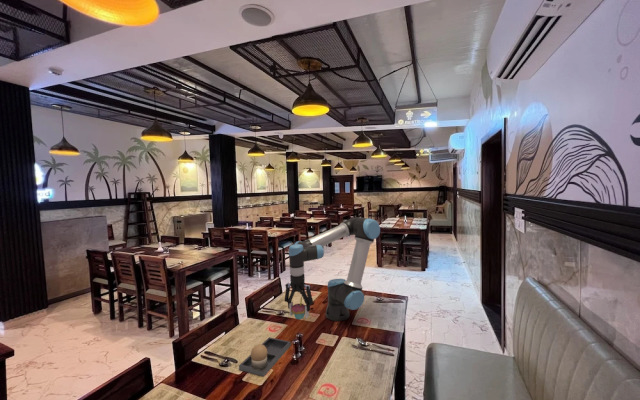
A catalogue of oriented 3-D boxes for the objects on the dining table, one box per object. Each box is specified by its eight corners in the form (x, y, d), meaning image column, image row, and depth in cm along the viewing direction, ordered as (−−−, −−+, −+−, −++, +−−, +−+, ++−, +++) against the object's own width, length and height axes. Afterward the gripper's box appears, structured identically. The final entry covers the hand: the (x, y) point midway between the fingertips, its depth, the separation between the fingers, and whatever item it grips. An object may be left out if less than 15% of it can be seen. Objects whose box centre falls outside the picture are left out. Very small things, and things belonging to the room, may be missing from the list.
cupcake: (309, 314, 151) (308, 293, 150) (303, 322, 143) (302, 299, 142) (295, 312, 154) (294, 291, 153) (288, 320, 146) (287, 297, 145)
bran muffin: (271, 361, 130) (270, 342, 130) (261, 371, 123) (261, 351, 123) (257, 357, 133) (256, 339, 133) (247, 367, 126) (247, 348, 126)
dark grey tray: (290, 347, 143) (290, 341, 143) (263, 378, 120) (263, 372, 120) (269, 342, 148) (269, 337, 148) (239, 372, 125) (238, 365, 125)
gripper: (318, 273, 146) (320, 315, 148) (283, 270, 154) (285, 309, 156) (312, 278, 139) (314, 321, 141) (276, 274, 147) (278, 316, 149)
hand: (299, 315), depth 148 cm, fingers closed on cupcake, 8 cm apart
